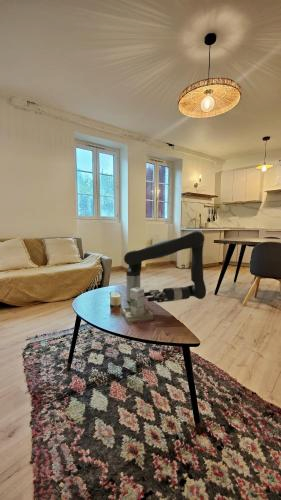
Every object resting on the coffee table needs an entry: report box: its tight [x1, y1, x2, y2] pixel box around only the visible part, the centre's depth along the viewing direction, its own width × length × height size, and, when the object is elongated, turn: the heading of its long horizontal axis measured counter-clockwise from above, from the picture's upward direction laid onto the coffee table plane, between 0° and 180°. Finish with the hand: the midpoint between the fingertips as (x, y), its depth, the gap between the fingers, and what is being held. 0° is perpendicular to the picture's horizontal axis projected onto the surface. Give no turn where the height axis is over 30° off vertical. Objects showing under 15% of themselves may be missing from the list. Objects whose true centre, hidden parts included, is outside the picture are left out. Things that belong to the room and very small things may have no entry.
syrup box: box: [129, 287, 145, 316], centre depth 120 cm, size 6×6×14 cm
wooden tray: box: [121, 304, 154, 324], centre depth 121 cm, size 14×14×3 cm
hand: (145, 297), depth 121 cm, fingers open, 8 cm apart
